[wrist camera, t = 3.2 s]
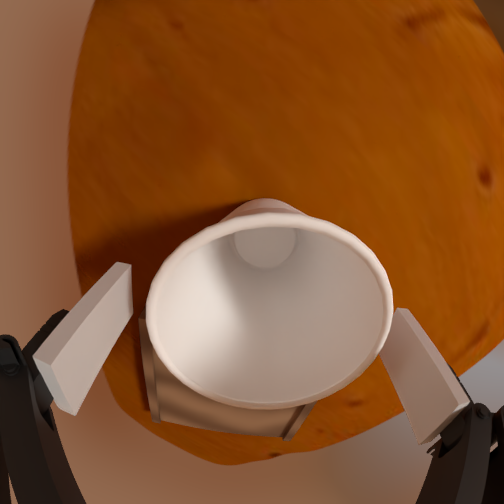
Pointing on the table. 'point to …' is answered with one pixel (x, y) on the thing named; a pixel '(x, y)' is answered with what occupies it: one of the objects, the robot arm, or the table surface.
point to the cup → (269, 308)
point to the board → (209, 403)
